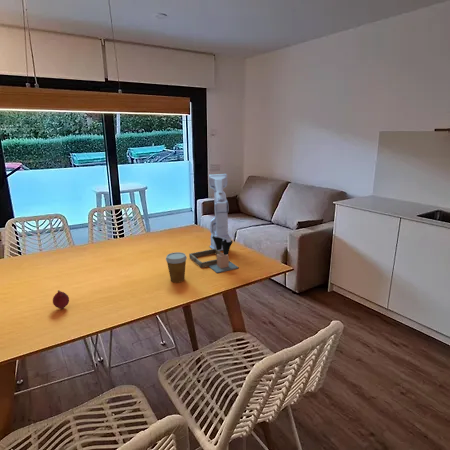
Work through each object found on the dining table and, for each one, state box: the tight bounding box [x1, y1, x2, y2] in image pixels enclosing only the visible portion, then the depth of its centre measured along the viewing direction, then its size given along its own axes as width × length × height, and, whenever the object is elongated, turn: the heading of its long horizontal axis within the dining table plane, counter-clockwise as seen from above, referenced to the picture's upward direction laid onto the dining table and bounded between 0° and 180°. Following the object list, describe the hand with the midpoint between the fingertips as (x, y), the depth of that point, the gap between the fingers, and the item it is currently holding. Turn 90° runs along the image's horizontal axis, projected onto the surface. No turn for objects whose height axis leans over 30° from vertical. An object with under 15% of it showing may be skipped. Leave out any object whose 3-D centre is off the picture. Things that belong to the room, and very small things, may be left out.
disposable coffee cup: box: [165, 251, 188, 283], centre depth 157 cm, size 10×10×12 cm
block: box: [216, 252, 230, 268], centre depth 171 cm, size 4×4×6 cm
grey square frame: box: [189, 248, 222, 269], centre depth 182 cm, size 16×16×2 cm
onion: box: [52, 289, 70, 310], centre depth 134 cm, size 6×6×8 cm
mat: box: [208, 261, 239, 274], centre depth 172 cm, size 10×12×1 cm
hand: (222, 251), depth 170 cm, fingers open, 7 cm apart
